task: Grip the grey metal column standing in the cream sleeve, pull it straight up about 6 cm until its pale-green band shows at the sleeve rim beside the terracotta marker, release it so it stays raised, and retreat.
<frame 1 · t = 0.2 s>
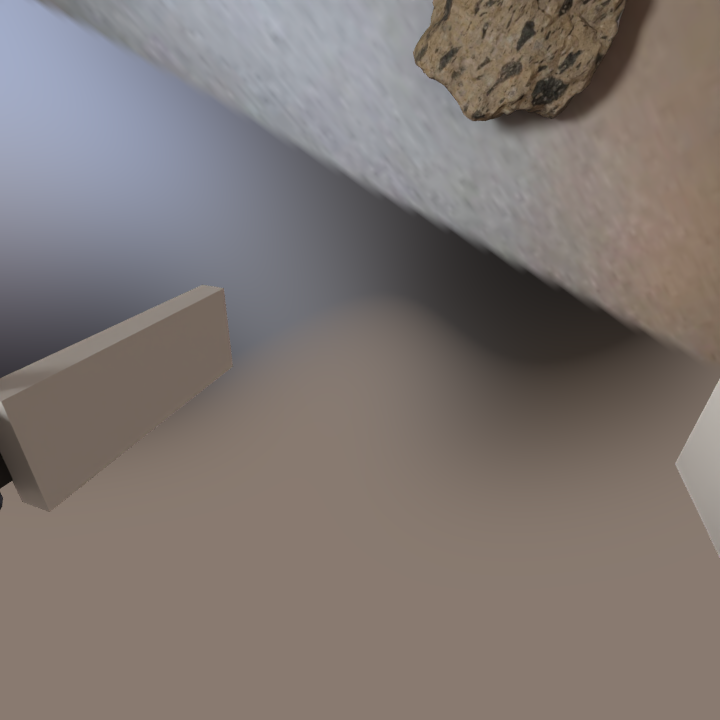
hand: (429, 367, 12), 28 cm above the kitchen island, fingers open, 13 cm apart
rock: (516, 33, 30), on the kitchen island
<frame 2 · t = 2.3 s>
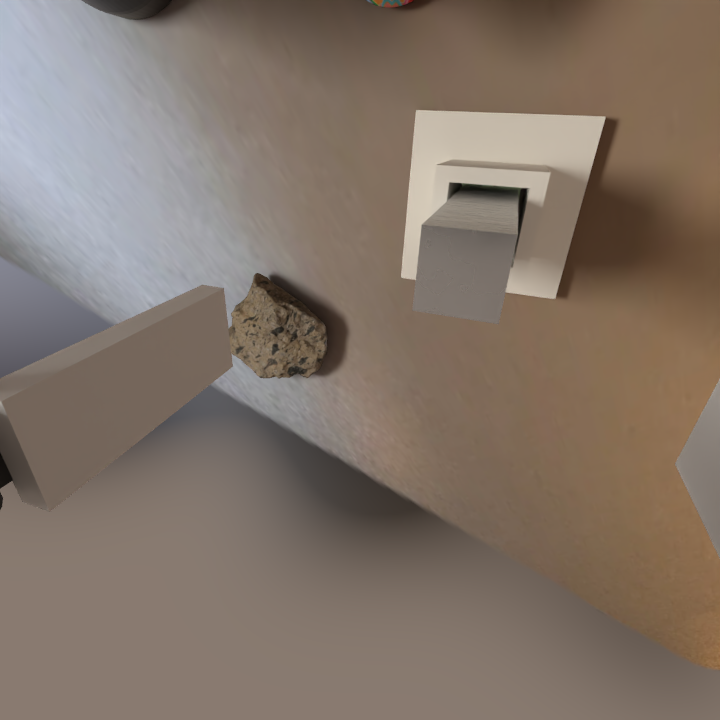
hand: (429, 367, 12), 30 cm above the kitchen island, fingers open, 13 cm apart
rock: (285, 328, 50), on the kitchen island
column: (478, 232, 27), point 11 cm above the kitchen island, slide at 0.0 cm
stand: (489, 207, 37), on the kitchen island
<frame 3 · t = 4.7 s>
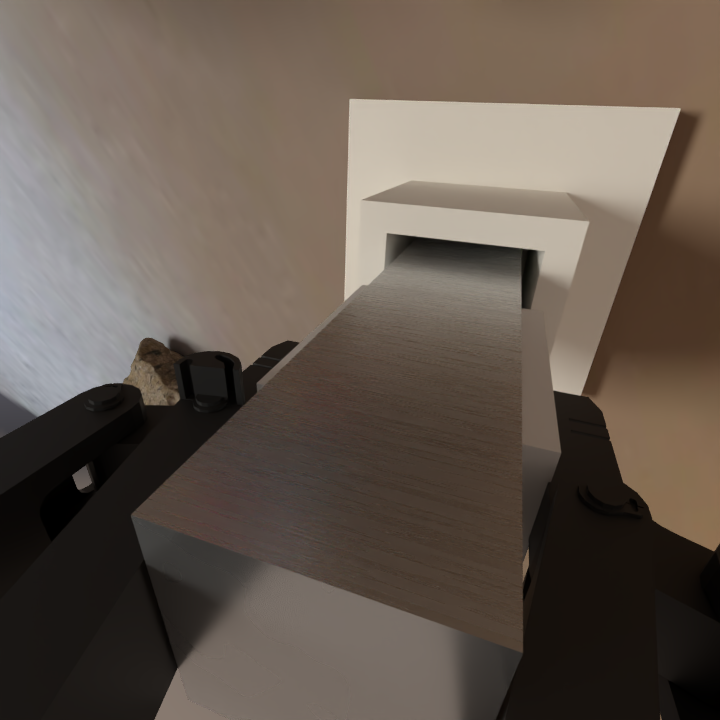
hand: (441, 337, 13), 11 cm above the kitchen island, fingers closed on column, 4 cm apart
rock: (198, 406, 36), on the kitchen island
column: (440, 339, 13), point 11 cm above the kitchen island, slide at 0.0 cm, touching gripper
stand: (473, 255, 23), on the kitchen island
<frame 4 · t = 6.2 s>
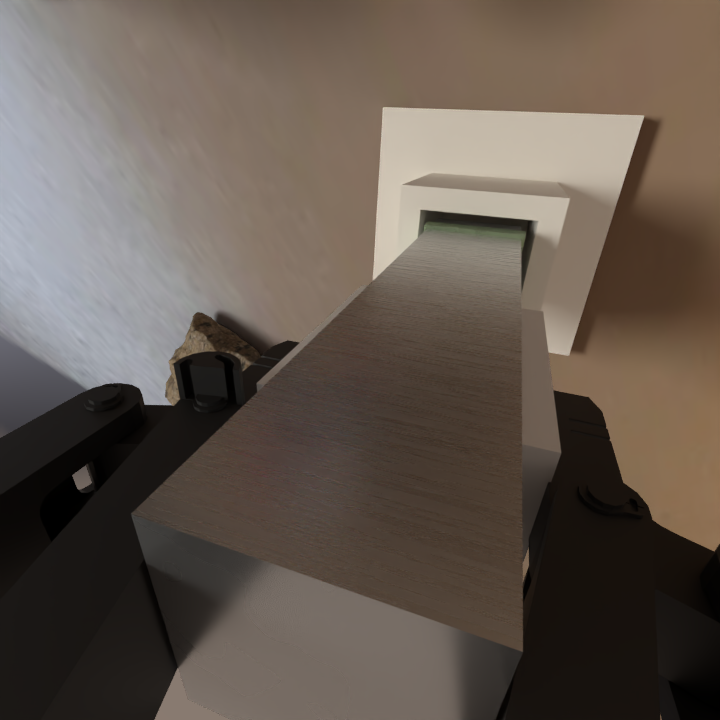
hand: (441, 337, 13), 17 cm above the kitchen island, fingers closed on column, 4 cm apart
rock: (238, 375, 41), on the kitchen island
column: (440, 340, 13), point 17 cm above the kitchen island, slide at 5.9 cm, touching gripper
stand: (482, 235, 28), on the kitchen island
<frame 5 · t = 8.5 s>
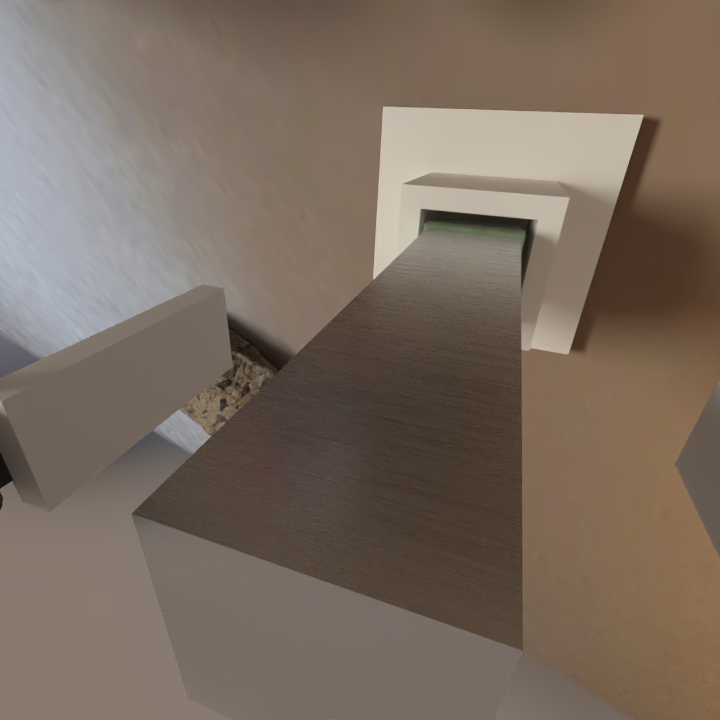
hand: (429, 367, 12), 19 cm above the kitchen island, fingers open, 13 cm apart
rock: (239, 375, 41), on the kitchen island
column: (440, 339, 13), point 17 cm above the kitchen island, slide at 6.0 cm
stand: (482, 234, 28), on the kitchen island
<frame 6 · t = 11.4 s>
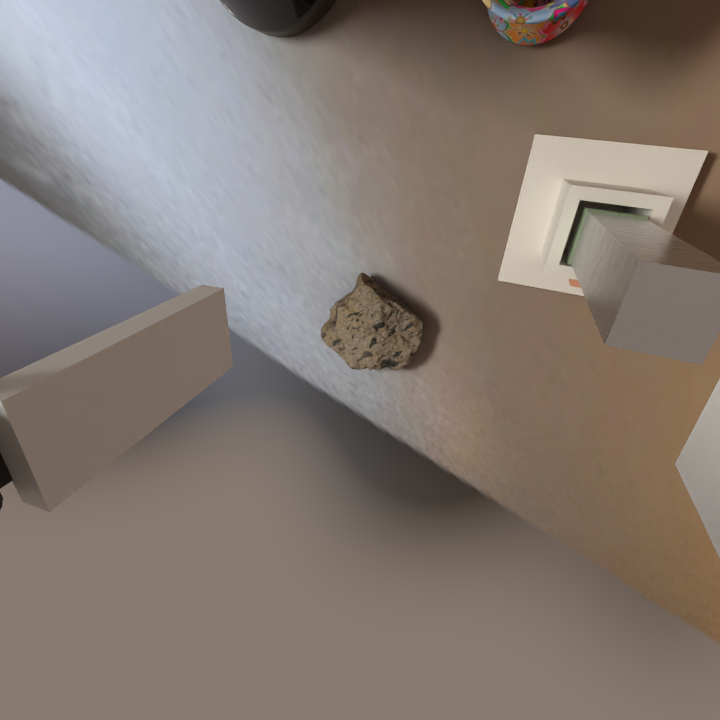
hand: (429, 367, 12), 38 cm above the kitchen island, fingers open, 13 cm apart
rock: (377, 324, 54), on the kitchen island
column: (624, 262, 27), point 17 cm above the kitchen island, slide at 6.0 cm
stand: (588, 222, 42), on the kitchen island
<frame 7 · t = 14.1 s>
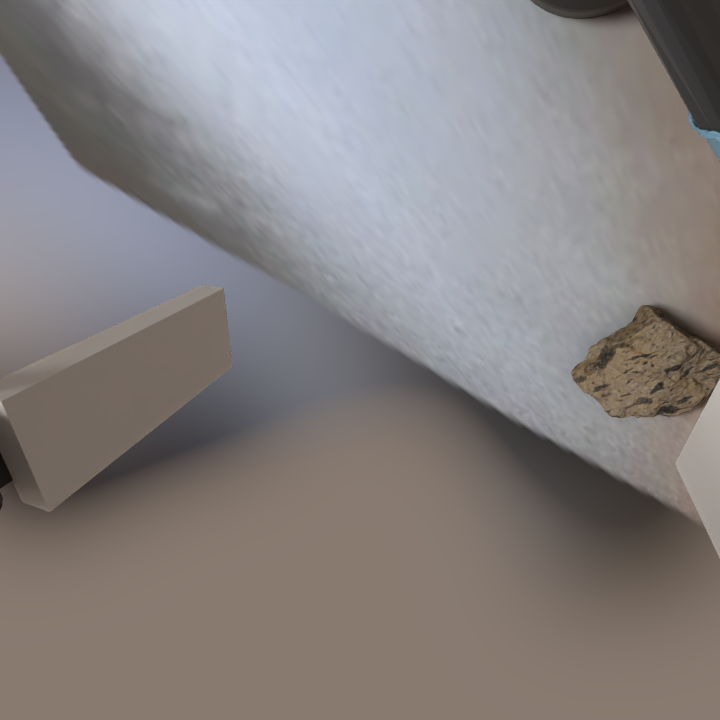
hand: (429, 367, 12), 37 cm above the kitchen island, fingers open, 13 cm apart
rock: (642, 362, 45), on the kitchen island
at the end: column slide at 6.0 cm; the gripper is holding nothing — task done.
